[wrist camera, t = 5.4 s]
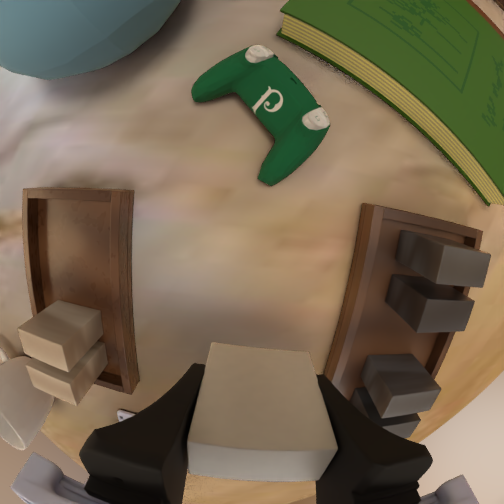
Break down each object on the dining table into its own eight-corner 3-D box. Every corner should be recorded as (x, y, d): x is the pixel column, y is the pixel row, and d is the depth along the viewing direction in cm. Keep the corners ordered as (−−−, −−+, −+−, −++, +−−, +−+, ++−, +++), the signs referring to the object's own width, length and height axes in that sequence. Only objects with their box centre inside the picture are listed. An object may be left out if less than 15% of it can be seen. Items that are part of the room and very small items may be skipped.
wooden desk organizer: (407, 401, 24) (431, 440, 17) (311, 408, 24) (323, 458, 17) (467, 226, 19) (516, 241, 13) (362, 202, 19) (406, 210, 13)
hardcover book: (519, 86, 15) (538, 81, 12) (487, 206, 19) (513, 210, 15) (353, -54, 12) (362, -73, 9) (267, 31, 16) (270, 5, 13)
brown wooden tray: (139, 380, 23) (112, 432, 16) (55, 354, 23) (19, 390, 16) (134, 190, 19) (80, 194, 12) (38, 187, 19) (-19, 193, 12)
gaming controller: (289, 172, 21) (349, 132, 16) (263, 193, 18) (329, 148, 14) (217, 84, 19) (261, 32, 14) (182, 94, 17) (225, 31, 12)
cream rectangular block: (299, 385, 14) (319, 480, 8) (209, 377, 14) (188, 474, 8) (309, 351, 13) (339, 448, 7) (211, 341, 13) (186, 440, 7)
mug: (72, 392, 24) (32, 446, 14) (51, 411, 26) (18, 455, 16) (5, 310, 22) (-49, 346, 12) (-8, 342, 23) (-49, 375, 14)
